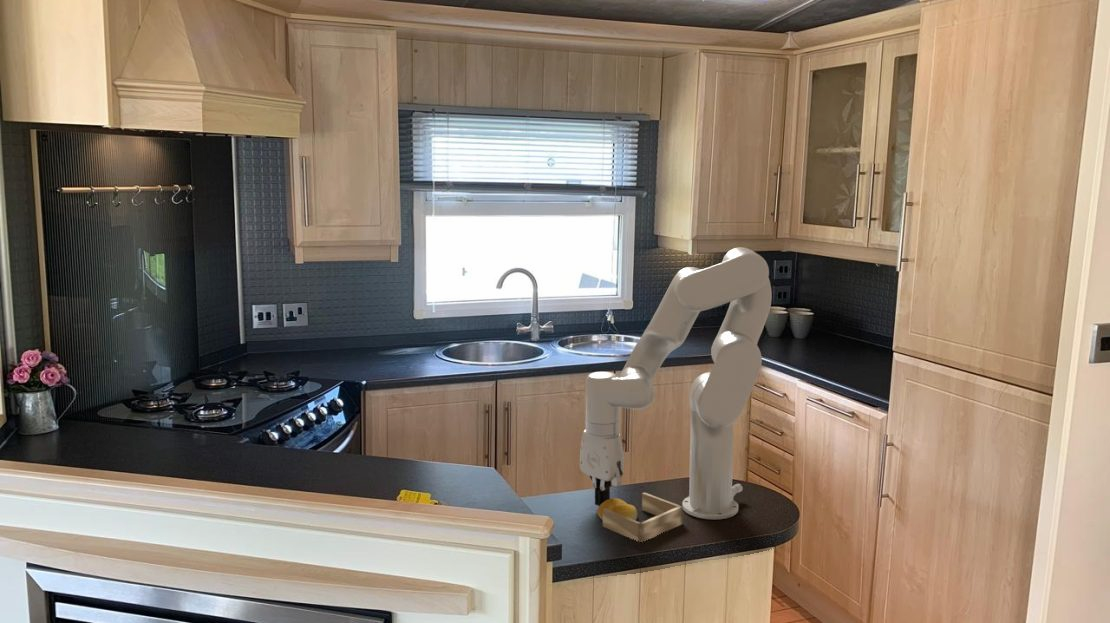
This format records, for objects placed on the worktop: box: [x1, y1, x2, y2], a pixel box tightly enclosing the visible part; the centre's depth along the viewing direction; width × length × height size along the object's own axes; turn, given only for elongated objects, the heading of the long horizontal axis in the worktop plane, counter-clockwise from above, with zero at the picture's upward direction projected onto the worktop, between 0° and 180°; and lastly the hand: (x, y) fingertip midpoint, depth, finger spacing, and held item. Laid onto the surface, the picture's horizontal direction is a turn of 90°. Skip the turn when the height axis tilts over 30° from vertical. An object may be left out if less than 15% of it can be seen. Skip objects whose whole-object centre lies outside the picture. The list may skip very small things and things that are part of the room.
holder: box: [602, 492, 684, 543], centre depth 189 cm, size 14×11×4 cm
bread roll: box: [596, 497, 638, 521], centre depth 192 cm, size 8×9×4 cm
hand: (602, 504), depth 197 cm, fingers closed
